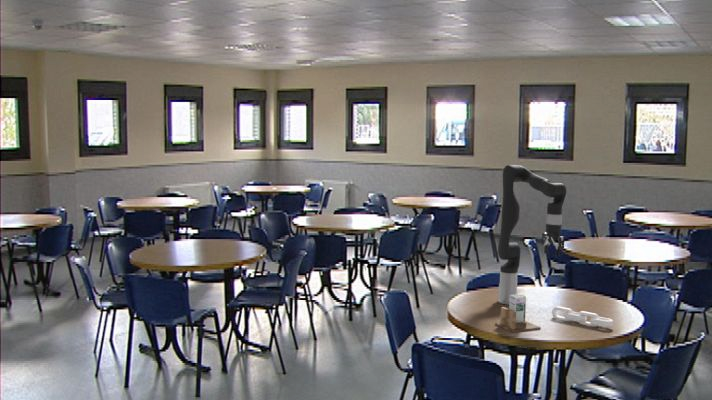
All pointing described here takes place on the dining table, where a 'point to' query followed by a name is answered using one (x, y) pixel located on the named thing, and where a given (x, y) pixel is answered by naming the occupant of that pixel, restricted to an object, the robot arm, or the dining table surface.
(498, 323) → the dock
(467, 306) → the dining table surface
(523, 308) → the syrup box
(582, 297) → the dining table surface
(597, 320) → the chain
